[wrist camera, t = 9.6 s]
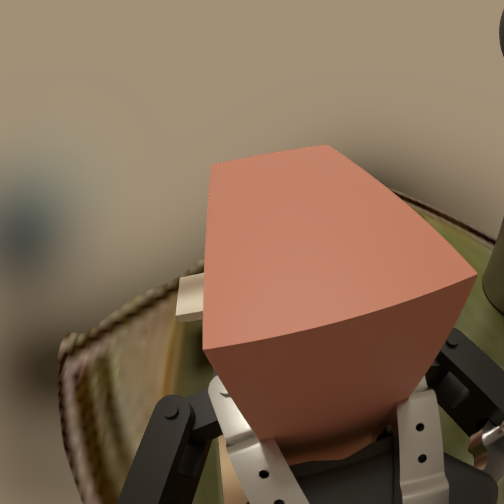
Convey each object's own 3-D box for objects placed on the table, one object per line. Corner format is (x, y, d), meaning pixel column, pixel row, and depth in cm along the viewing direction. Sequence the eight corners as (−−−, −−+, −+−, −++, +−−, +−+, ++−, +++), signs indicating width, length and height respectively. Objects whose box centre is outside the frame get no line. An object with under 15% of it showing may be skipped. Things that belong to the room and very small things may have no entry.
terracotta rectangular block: (268, 377, 17) (210, 165, 9) (327, 364, 17) (327, 144, 9) (285, 476, 11) (202, 349, 3) (355, 458, 11) (477, 273, 3)
